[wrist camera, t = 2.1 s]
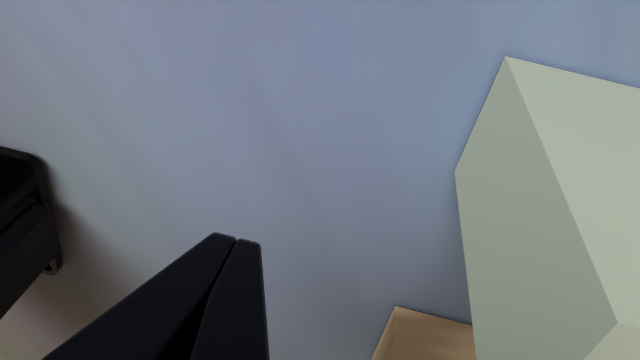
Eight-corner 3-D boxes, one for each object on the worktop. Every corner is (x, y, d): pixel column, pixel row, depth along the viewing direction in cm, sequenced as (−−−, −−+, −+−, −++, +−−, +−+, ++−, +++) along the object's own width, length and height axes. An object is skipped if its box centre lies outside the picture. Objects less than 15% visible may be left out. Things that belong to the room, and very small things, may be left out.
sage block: (454, 171, 15) (488, 462, 8) (505, 56, 13) (618, 322, 6) (574, 201, 15) (718, 522, 8) (648, 90, 13) (946, 405, 6)
